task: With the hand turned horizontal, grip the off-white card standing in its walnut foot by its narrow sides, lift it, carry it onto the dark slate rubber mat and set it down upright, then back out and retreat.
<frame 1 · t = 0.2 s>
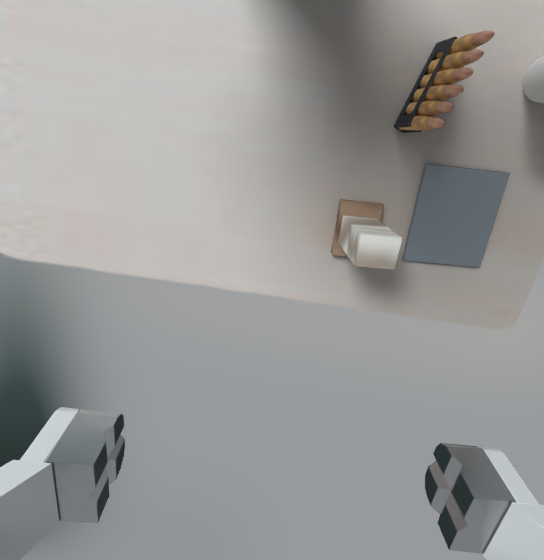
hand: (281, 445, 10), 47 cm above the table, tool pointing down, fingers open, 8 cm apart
card stand: (355, 228, 57), on the table
ammunition clip: (419, 89, 50), on the table
slate mat: (452, 217, 57), on the table
dixie cup: (543, 78, 50), on the table
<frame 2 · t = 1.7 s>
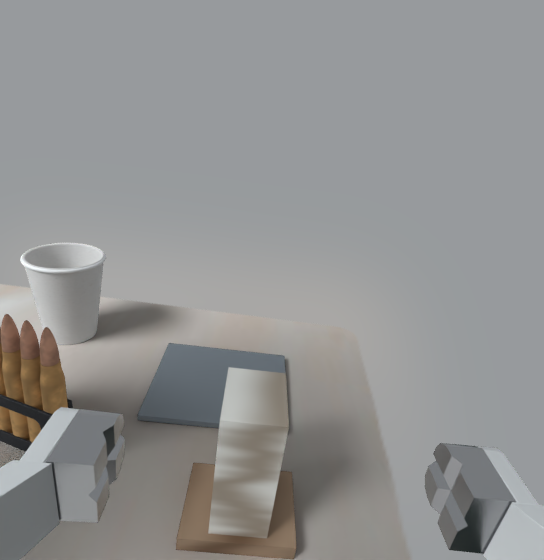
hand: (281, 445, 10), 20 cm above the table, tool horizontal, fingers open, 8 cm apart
card stand: (238, 512, 29), on the table
ammunition clip: (18, 437, 33), on the table
slate mat: (220, 385, 42), on the table
dixie cup: (71, 333, 47), on the table
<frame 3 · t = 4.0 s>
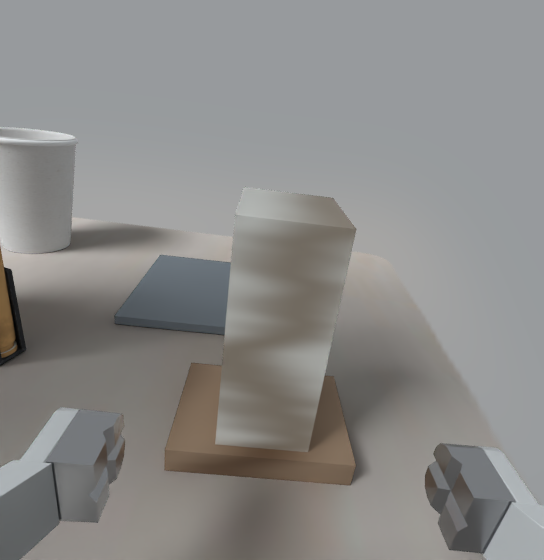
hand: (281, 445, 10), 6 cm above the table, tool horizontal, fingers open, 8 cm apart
card stand: (259, 426, 19), on the table
slate mat: (227, 295, 32), on the table
dixie cup: (37, 245, 37), on the table
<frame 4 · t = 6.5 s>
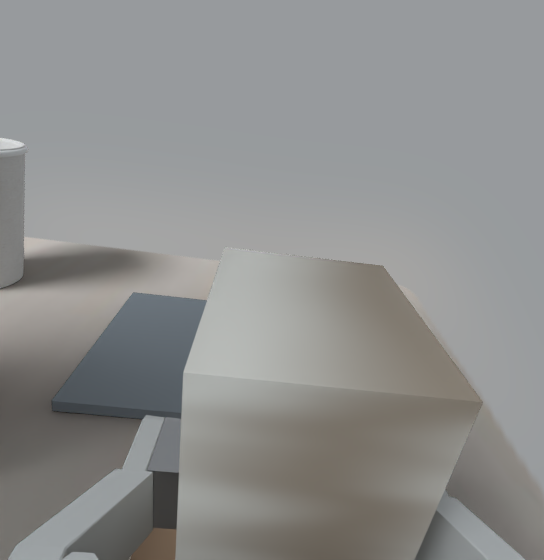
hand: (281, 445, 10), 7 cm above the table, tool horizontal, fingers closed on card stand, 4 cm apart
slate mat: (214, 353, 24), on the table
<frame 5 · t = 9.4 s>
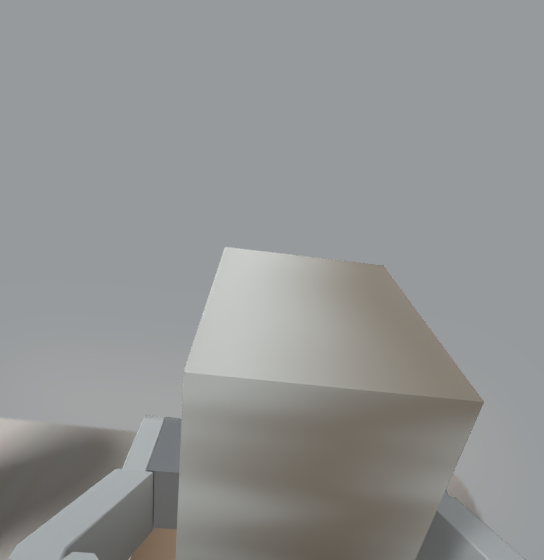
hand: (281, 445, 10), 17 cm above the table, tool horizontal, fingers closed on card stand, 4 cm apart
when the fingers open (8 cm above the table, at t = 12.4 s): card stand stays where it is, resting on slate mat.
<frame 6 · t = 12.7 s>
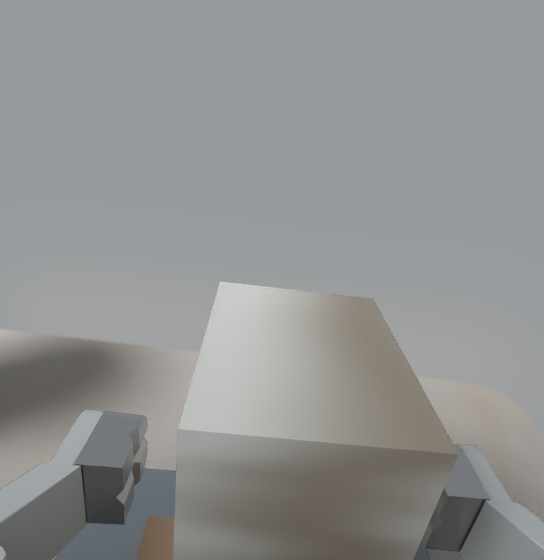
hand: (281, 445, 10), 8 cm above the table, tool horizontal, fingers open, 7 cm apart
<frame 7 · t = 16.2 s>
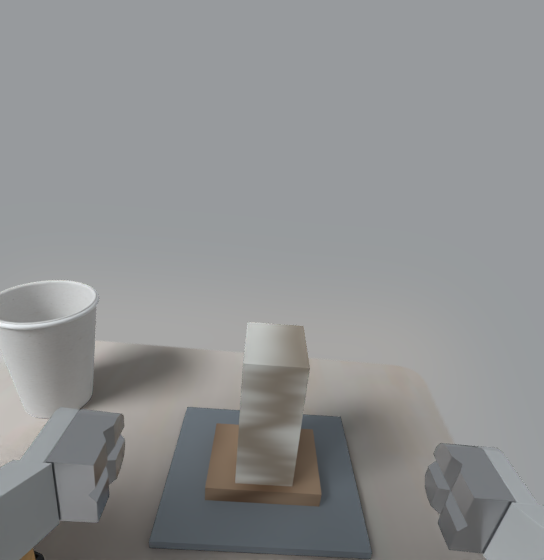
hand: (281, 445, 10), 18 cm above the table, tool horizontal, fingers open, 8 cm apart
card stand: (263, 467, 30), point 1 cm above the table, touching slate mat
slate mat: (262, 472, 30), on the table
dixie cup: (59, 398, 36), on the table
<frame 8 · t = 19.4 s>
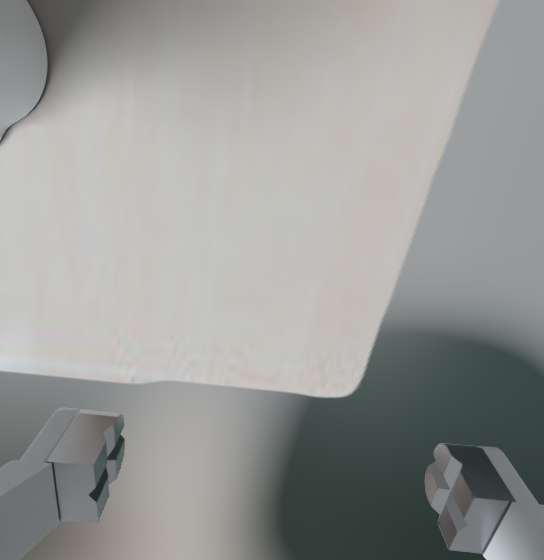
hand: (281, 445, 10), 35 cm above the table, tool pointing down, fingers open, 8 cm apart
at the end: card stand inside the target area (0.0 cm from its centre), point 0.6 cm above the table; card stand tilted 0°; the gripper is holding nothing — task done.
